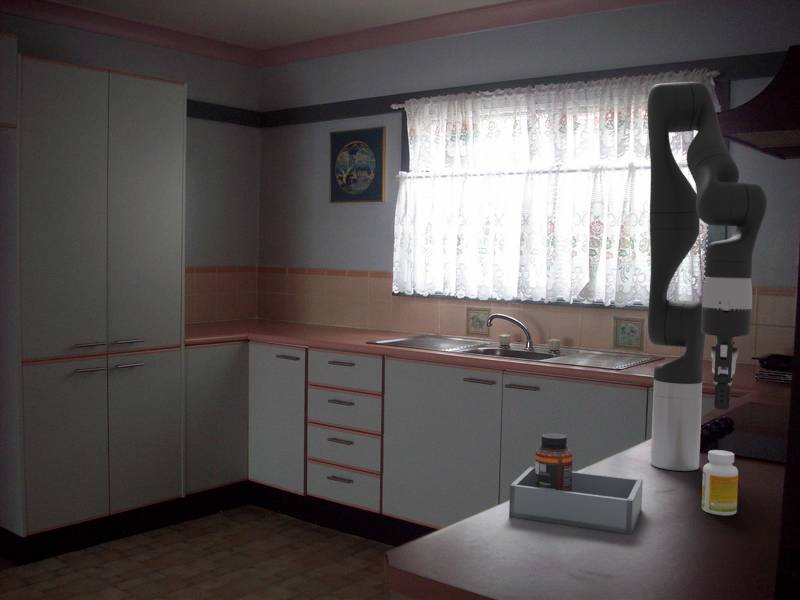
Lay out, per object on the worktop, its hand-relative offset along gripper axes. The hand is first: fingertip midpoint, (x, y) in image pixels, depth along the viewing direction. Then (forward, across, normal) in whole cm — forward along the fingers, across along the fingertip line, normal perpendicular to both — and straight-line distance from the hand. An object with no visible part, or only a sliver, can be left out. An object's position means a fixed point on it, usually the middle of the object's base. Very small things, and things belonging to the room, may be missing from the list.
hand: (722, 405), depth 134 cm
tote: (+18, +12, -21) cm, 30 cm away
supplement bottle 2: (+18, 0, 0) cm, 18 cm away
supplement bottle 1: (+17, +12, -25) cm, 32 cm away
